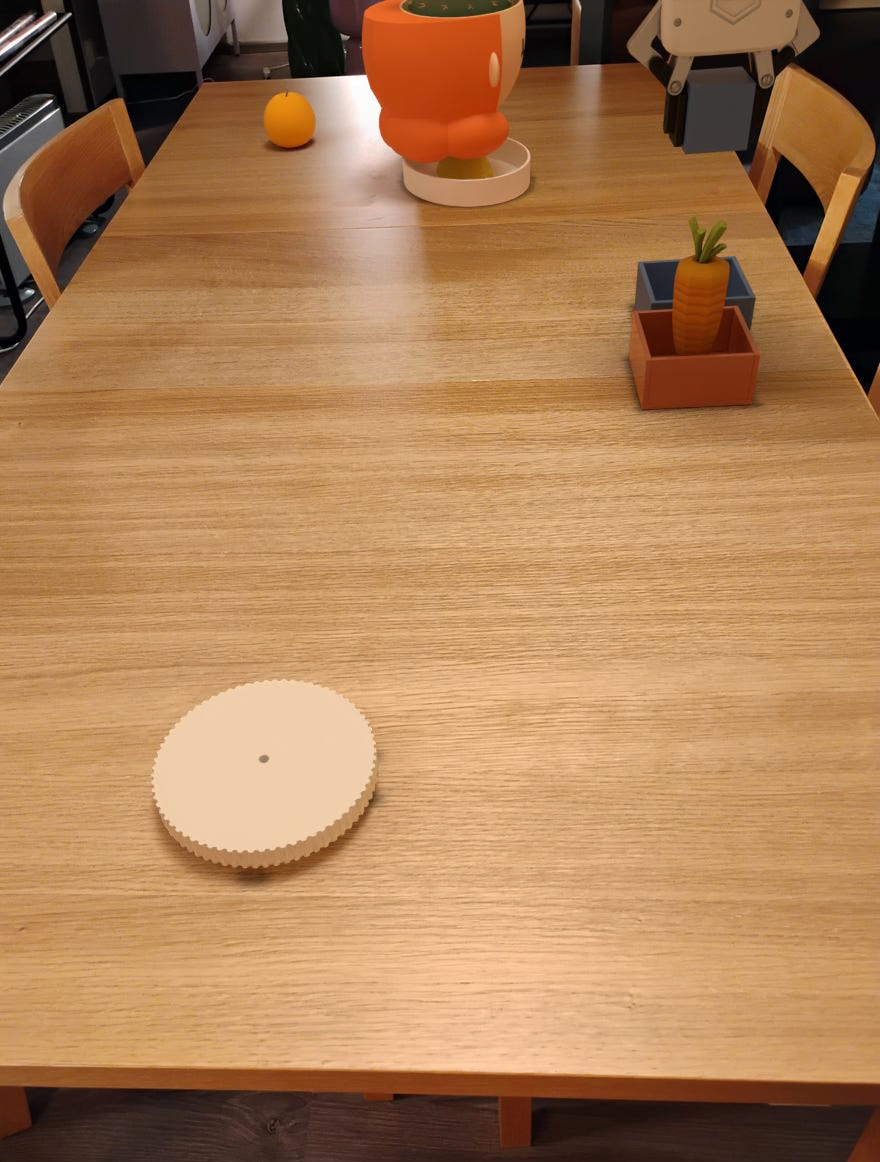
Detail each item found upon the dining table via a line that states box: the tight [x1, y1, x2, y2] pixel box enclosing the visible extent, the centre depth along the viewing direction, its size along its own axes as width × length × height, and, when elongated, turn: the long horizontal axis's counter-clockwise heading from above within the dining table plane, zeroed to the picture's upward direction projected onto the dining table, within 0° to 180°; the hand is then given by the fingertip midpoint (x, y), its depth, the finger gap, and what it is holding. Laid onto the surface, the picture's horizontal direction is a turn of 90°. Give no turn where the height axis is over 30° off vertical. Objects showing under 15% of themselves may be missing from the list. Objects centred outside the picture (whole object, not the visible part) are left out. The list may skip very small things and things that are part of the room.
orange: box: [263, 91, 317, 149], centre depth 159 cm, size 8×8×8 cm
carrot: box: [672, 216, 730, 356], centre depth 93 cm, size 5×5×15 cm
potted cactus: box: [361, 0, 531, 208], centre depth 131 cm, size 22×22×35 cm
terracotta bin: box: [628, 306, 761, 410], centre depth 97 cm, size 10×10×5 cm
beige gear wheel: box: [150, 678, 379, 869], centre depth 64 cm, size 14×14×2 cm
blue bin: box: [633, 255, 757, 332], centre depth 105 cm, size 10×10×5 cm
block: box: [680, 66, 756, 155], centre depth 84 cm, size 5×5×5 cm
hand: (710, 137), depth 86 cm, fingers closed on block, 5 cm apart
